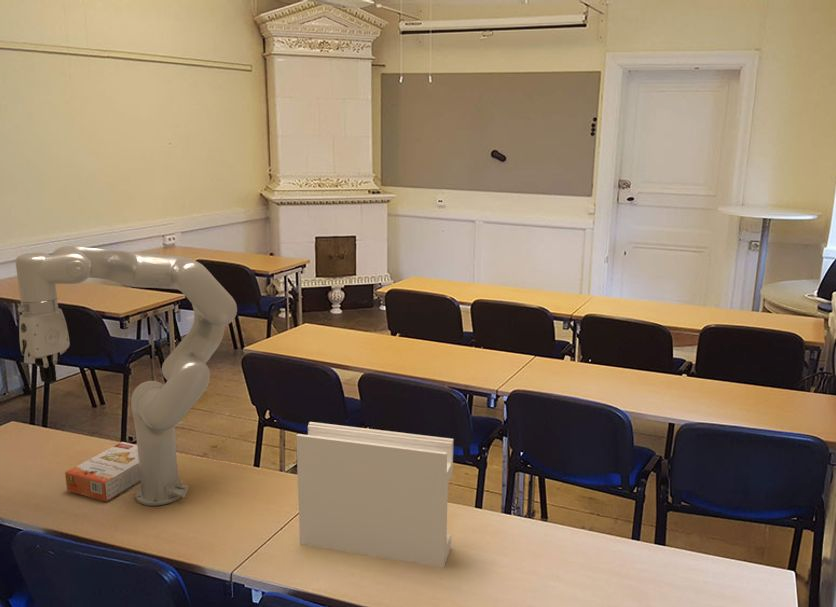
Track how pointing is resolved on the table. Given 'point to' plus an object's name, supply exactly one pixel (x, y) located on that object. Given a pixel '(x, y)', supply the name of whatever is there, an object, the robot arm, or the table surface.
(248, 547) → the table surface
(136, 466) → the cracker box
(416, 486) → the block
